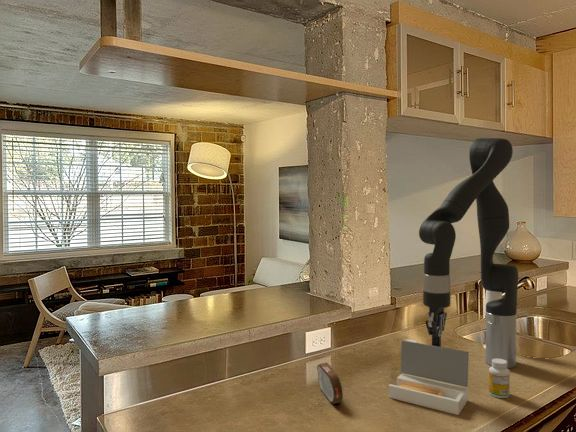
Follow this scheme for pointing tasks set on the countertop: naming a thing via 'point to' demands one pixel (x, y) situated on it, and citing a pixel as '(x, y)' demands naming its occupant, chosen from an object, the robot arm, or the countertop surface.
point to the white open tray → (449, 403)
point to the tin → (329, 383)
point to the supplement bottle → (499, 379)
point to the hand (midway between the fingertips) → (436, 347)
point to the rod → (423, 390)
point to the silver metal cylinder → (491, 299)
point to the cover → (435, 363)
